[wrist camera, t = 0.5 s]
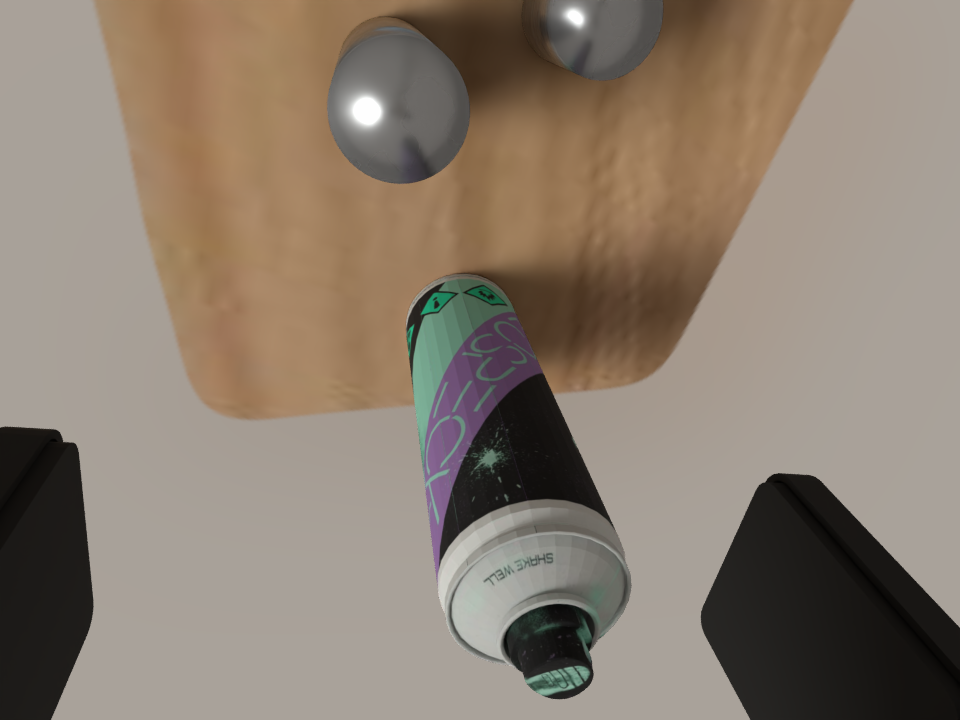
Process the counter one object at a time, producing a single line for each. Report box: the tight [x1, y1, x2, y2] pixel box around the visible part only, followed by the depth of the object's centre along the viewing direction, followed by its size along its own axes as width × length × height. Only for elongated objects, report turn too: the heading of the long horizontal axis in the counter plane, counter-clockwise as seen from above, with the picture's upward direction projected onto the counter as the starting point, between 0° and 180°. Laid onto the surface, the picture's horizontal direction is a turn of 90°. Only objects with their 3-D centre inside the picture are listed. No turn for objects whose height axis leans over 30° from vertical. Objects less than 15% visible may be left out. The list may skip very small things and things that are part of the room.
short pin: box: [522, 0, 663, 80], centre depth 26 cm, size 4×4×5 cm
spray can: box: [406, 274, 631, 699], centre depth 25 cm, size 6×6×20 cm
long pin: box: [327, 17, 470, 184], centre depth 23 cm, size 4×4×10 cm
